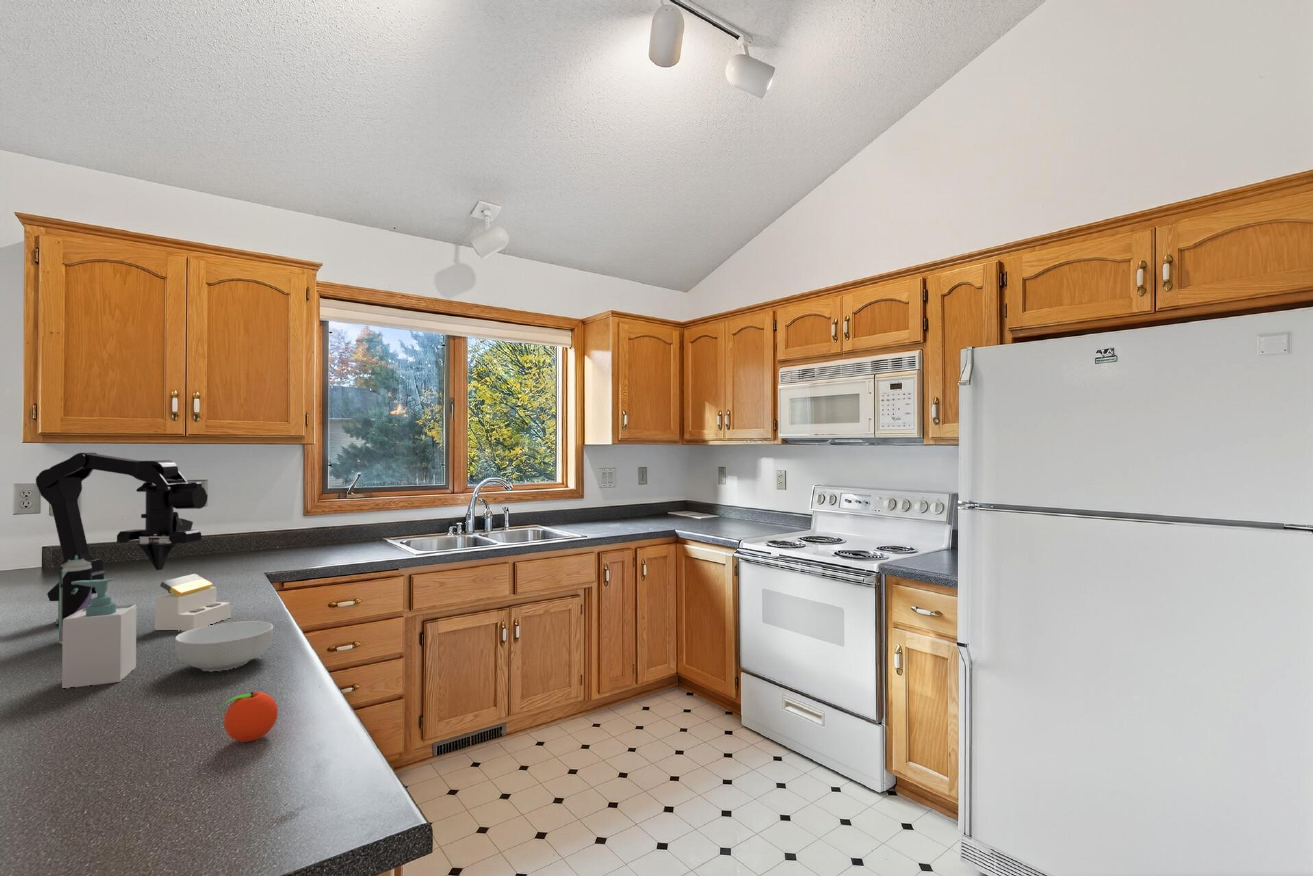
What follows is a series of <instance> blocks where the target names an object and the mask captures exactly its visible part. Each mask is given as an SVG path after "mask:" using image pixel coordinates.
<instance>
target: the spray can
mask: <svg viewBox="0 0 1313 876" xmlns="http://www.w3.org/2000/svg"><path fill="white" fill-rule="evenodd" d="M59 570H60V588H59V625H58V644H59V645H62V644H63V619H65V618H67V617H68V616H70V615H72V614H74V613H76V612H78V611H80V610H81V609H84V608H86V607H87V606H88V605H91V600H92V595H93V594H92V587H90V586H84V585H78V584H73V585H72V584H71V582H75V581H81V580H92V566H91V563H90V562H87V561H85V560H84V558H82V557H81V554H71V558H70V559H69V560H68V562H66V563H65V564H63V565H62V564H61V565H60V568H59Z"/></svg>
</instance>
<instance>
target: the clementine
mask: <svg viewBox="0 0 1313 876" xmlns="http://www.w3.org/2000/svg"><path fill="white" fill-rule="evenodd" d="M232 701H233V702H232ZM230 702H232V703H231V704H230V705H229V707H228V708H227V709H226V712H225V715H224V721H223V725H224V730H225V732H226V734H227V735H228V736H229V737H231V738H232V739H233V740H236V741H238V742H242V743H245V742H246V743H247V742H253V741H256V740H259V739H261V738H262V737H264V736H265V735H267V734H268V733H269V732H270V731H271V729H272V728H273V727H274V726H275V723H276V722H277V719H278V713H279V710H278V704H277V702H276V701H275V699H274V698H273V697H271V695H270V694H267V693H265V692H262V691H254V692H253V691H252V692H248V693H243V694H239V695H236V696H234V697H231V698H229V699H228V700H226V702H224V703H223V704H222V705H221V706H220V707H219V709H218V710H217V712H216V714H215V716H217V715H218V713H219V710H221V708H223V706H224V705H226V704H227V703H230Z"/></svg>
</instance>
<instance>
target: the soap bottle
mask: <svg viewBox="0 0 1313 876" xmlns="http://www.w3.org/2000/svg"><path fill="white" fill-rule="evenodd" d="M115 579H116V578H115V577H112V578H104V580H81V581H75V582H71V584H72V585H73V584H78V585H84V586H90V587H94V586H95V591H96V592H97V593H96V594H97V595H96V596H95V597H91V605H88V606H87V607H86V608H84V609H81V610H80V611H78V612H76V613H74V614H72V615H70V616H68V617H67V618H65V619H63V644H61V646H62V652H61V655H62V658H61V659H62V660H61V661H62V662H61V664H62V665H61V666H62V668H61V688H66V689H71V688H70V687H75V688H82V687H91V686H90V685H92V686H99V685H106V684H115V683H116V682H117V683H120V682H121V681H123V680H122V679H125V678H126V677H127V676H128V675H129V674H131V671H132V670H133V671H134V670H135V669H136V667H137V605H136V604H134V603H133V604H124V605H117V603H116V602H114V601H112V596H111V595H106V592H107V590H108V582H111V581H114V580H115ZM133 671H132V672H133Z"/></svg>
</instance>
